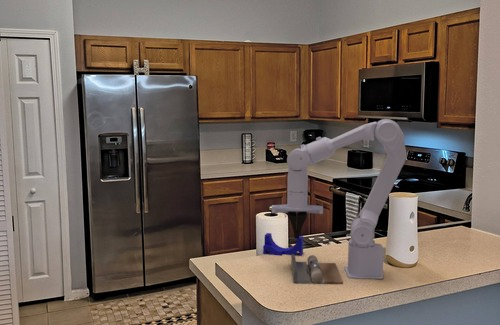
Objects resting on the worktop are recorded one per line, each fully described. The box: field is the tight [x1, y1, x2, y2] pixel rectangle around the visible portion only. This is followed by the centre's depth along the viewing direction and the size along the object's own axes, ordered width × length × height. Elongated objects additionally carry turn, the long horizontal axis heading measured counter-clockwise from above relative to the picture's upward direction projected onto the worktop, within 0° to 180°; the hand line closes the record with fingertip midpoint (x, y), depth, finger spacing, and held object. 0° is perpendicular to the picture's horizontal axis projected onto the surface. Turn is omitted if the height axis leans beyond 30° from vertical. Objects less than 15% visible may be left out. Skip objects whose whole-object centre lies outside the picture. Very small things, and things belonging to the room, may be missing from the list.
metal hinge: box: [290, 254, 321, 284], centre depth 134 cm, size 8×15×3 cm, turn 178°
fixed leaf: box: [306, 254, 344, 285], centre depth 134 cm, size 8×15×3 cm, turn 178°
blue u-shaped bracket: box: [262, 232, 304, 257], centre depth 152 cm, size 12×4×6 cm, turn 74°
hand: (296, 237), depth 138 cm, fingers closed
